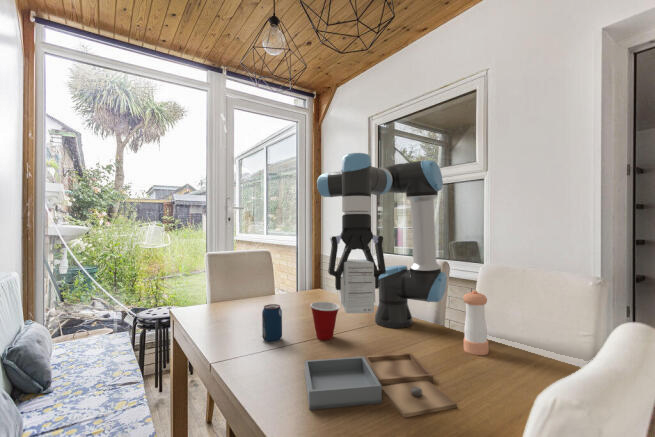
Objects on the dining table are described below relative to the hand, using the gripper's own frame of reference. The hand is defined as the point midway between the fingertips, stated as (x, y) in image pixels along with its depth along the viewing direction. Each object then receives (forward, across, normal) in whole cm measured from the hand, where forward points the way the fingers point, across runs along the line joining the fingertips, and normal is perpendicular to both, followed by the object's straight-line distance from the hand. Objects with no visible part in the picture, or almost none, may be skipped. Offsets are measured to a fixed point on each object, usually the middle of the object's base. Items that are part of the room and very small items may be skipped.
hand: (357, 301), depth 85 cm
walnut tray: (+21, -12, -5) cm, 25 cm away
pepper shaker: (+21, -42, -14) cm, 49 cm away
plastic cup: (+21, +3, -35) cm, 41 cm away
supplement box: (+2, 0, 0) cm, 2 cm away
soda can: (+21, +22, -36) cm, 48 cm away
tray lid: (+21, -12, +9) cm, 26 cm away
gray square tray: (+21, +5, +1) cm, 22 cm away
